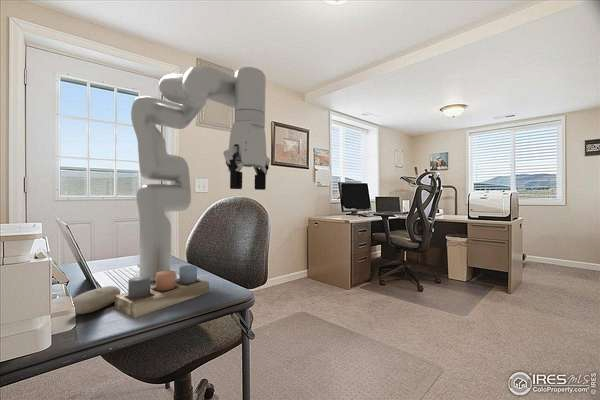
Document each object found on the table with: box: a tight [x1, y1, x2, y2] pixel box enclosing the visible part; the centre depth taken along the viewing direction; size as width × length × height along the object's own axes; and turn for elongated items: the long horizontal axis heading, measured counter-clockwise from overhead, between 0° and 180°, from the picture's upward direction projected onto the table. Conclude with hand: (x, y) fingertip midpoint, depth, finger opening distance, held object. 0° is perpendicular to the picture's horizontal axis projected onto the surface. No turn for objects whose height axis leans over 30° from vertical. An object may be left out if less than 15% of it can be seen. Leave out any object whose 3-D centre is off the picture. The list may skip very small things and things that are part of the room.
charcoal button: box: [127, 276, 151, 298], centre depth 72 cm, size 5×5×4 cm
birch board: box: [114, 278, 210, 319], centre depth 78 cm, size 10×21×3 cm, turn 147°
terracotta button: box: [155, 269, 176, 290], centre depth 77 cm, size 5×5×4 cm
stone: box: [71, 285, 121, 315], centre depth 71 cm, size 6×6×12 cm
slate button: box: [178, 264, 198, 284], centre depth 83 cm, size 5×5×4 cm
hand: (248, 189), depth 72 cm, fingers open, 9 cm apart
